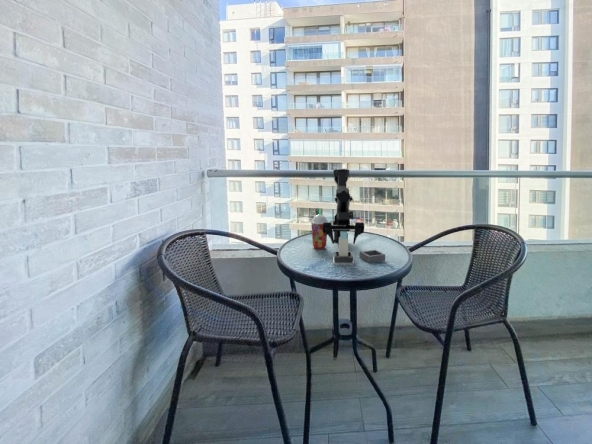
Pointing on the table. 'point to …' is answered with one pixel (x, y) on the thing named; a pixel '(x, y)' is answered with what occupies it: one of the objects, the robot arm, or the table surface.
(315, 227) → the smoothie
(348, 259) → the port
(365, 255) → the grey square tray
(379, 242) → the table surface
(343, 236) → the cream bottle
